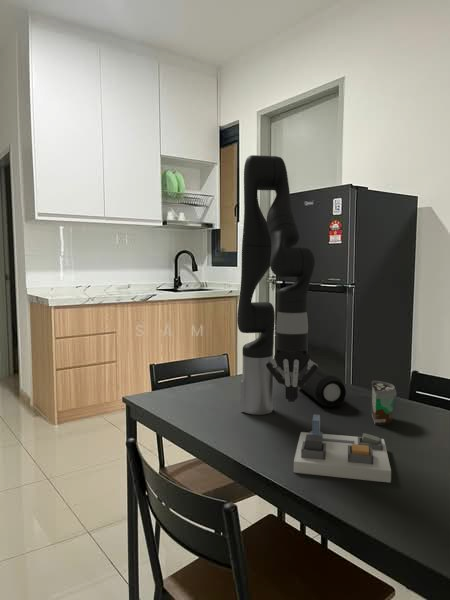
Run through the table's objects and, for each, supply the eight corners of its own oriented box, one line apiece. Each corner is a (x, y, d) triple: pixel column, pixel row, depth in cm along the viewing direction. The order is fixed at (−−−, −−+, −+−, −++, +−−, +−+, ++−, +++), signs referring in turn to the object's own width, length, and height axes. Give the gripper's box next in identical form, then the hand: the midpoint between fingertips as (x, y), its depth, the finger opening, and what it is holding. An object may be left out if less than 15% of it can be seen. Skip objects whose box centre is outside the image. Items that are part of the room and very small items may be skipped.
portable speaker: (291, 388, 170) (291, 361, 169) (317, 387, 172) (318, 360, 171) (318, 410, 145) (318, 378, 144) (348, 408, 147) (349, 377, 146)
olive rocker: (362, 441, 110) (363, 436, 110) (362, 437, 112) (363, 432, 112) (378, 446, 109) (379, 441, 109) (377, 441, 112) (378, 437, 111)
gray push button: (305, 449, 105) (305, 440, 104) (306, 443, 108) (306, 434, 108) (321, 451, 104) (321, 441, 104) (322, 445, 107) (322, 435, 107)
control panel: (293, 472, 102) (293, 453, 102) (300, 441, 120) (300, 425, 119) (390, 482, 98) (391, 463, 97) (383, 448, 115) (383, 432, 115)
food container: (399, 428, 129) (400, 392, 128) (375, 426, 130) (376, 391, 130) (392, 413, 141) (393, 381, 140) (371, 412, 142) (371, 380, 142)
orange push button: (351, 460, 102) (351, 450, 102) (351, 453, 106) (351, 444, 106) (369, 461, 101) (369, 451, 101) (368, 455, 105) (368, 445, 105)
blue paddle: (309, 440, 113) (309, 420, 113) (310, 433, 117) (310, 414, 117) (321, 441, 112) (322, 421, 112) (322, 434, 116) (323, 415, 116)
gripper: (262, 331, 112) (262, 403, 113) (319, 333, 109) (318, 407, 110) (267, 327, 119) (267, 395, 120) (320, 329, 116) (320, 398, 117)
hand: (291, 400), depth 115 cm, fingers closed
